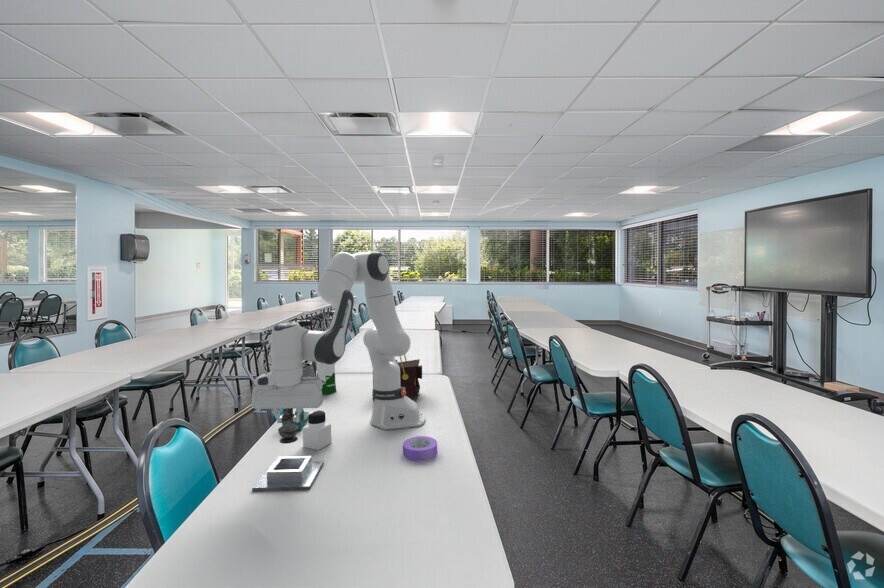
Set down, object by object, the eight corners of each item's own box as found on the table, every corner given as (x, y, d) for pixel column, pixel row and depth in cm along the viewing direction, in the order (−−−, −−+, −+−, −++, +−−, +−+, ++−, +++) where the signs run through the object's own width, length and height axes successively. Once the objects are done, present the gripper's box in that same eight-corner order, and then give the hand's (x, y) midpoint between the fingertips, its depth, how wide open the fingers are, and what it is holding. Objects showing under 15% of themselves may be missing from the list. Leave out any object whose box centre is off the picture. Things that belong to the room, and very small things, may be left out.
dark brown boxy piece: (420, 401, 196) (419, 349, 194) (372, 402, 196) (371, 350, 195) (422, 391, 212) (422, 343, 211) (377, 392, 212) (376, 344, 211)
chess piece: (278, 445, 120) (277, 404, 119) (277, 438, 125) (276, 399, 124) (300, 441, 122) (299, 402, 122) (298, 434, 127) (297, 396, 127)
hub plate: (323, 463, 132) (323, 451, 132) (309, 489, 116) (309, 475, 116) (273, 465, 132) (273, 452, 132) (252, 491, 116) (251, 477, 116)
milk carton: (327, 388, 220) (326, 351, 219) (339, 391, 215) (338, 353, 214) (314, 393, 212) (313, 354, 211) (326, 395, 207) (325, 356, 206)
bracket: (300, 432, 160) (299, 412, 159) (282, 433, 159) (281, 413, 159) (311, 416, 178) (310, 398, 177) (295, 417, 177) (294, 399, 177)
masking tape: (419, 465, 131) (419, 453, 131) (395, 454, 139) (395, 443, 139) (444, 453, 140) (444, 442, 140) (420, 443, 148) (420, 433, 148)
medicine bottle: (331, 442, 149) (331, 410, 148) (318, 450, 142) (317, 416, 142) (316, 439, 152) (315, 407, 151) (302, 447, 145) (301, 413, 145)
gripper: (324, 373, 126) (325, 418, 127) (257, 374, 126) (258, 419, 126) (319, 378, 120) (320, 425, 121) (248, 380, 119) (249, 426, 120)
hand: (288, 422), depth 123 cm, fingers closed on chess piece, 3 cm apart
